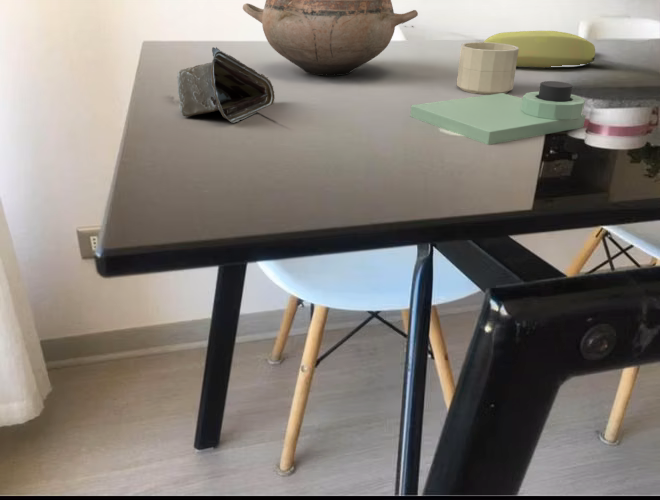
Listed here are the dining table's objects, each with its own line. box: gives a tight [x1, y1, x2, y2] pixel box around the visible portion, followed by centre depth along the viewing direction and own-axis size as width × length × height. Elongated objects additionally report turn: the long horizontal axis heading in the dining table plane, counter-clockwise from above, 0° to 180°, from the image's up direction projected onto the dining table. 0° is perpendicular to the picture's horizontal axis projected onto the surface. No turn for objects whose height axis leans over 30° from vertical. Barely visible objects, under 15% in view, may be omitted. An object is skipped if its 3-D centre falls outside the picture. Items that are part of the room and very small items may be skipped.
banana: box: [483, 30, 596, 68], centre depth 102 cm, size 14×6×20 cm
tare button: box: [538, 80, 573, 102], centre depth 66 cm, size 3×3×2 cm
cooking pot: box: [242, 0, 419, 77], centre depth 90 cm, size 25×19×12 cm
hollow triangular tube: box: [177, 46, 276, 123], centre depth 69 cm, size 10×7×12 cm
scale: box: [409, 91, 587, 146], centre depth 67 cm, size 15×12×3 cm
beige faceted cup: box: [456, 41, 519, 95], centre depth 82 cm, size 7×7×6 cm
